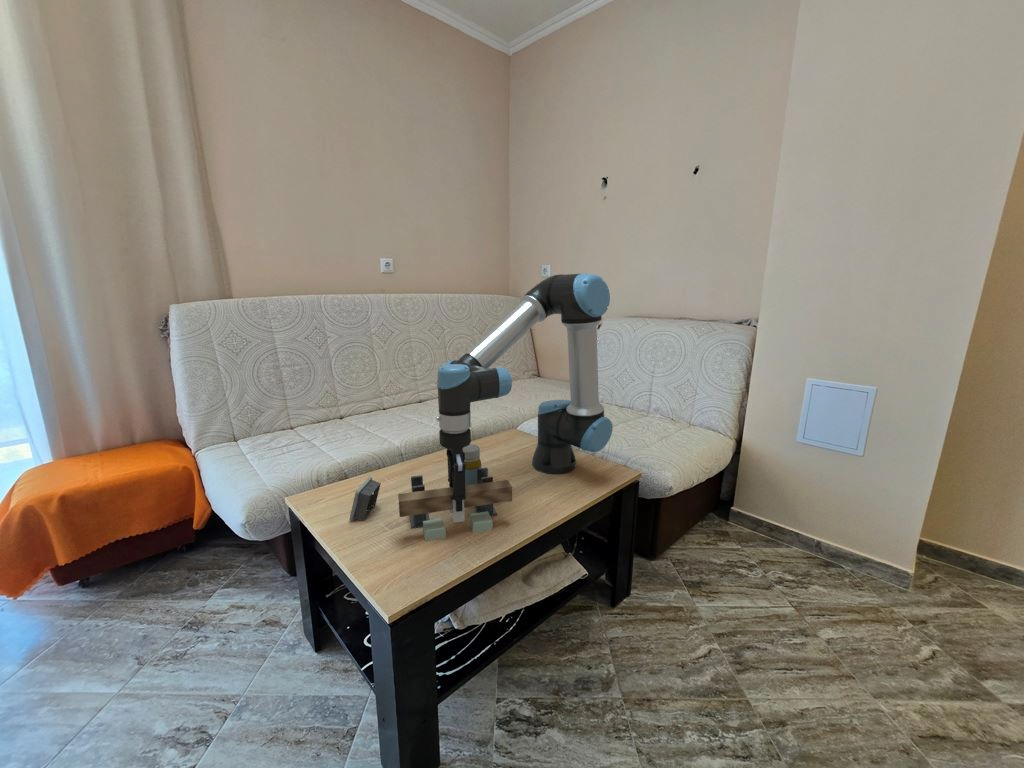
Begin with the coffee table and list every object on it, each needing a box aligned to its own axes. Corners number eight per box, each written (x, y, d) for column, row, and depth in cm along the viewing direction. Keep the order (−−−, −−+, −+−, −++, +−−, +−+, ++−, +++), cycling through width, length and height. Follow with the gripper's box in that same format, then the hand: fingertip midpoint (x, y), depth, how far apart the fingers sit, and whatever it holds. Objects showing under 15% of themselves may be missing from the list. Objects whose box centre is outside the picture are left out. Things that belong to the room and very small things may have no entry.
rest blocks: (488, 519, 111) (487, 511, 111) (492, 529, 107) (492, 521, 106) (423, 529, 107) (422, 521, 106) (425, 541, 102) (424, 531, 101)
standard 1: (427, 510, 116) (425, 473, 114) (430, 525, 109) (428, 486, 106) (409, 513, 115) (406, 476, 112) (410, 528, 107) (408, 489, 105)
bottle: (478, 502, 121) (477, 453, 117) (455, 499, 122) (453, 451, 119) (484, 491, 127) (483, 444, 124) (462, 488, 129) (461, 443, 125)
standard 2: (490, 501, 121) (490, 466, 119) (497, 515, 114) (497, 477, 111) (473, 503, 120) (472, 468, 117) (479, 518, 112) (478, 480, 110)
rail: (507, 493, 111) (507, 479, 110) (512, 500, 107) (512, 486, 106) (399, 508, 103) (398, 494, 102) (399, 517, 99) (398, 501, 98)
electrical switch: (363, 504, 119) (364, 474, 117) (381, 506, 119) (382, 477, 117) (348, 522, 110) (349, 490, 108) (367, 525, 110) (368, 493, 108)
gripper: (435, 419, 108) (438, 502, 113) (444, 442, 92) (447, 537, 97) (463, 417, 110) (465, 498, 115) (477, 439, 94) (478, 532, 99)
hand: (457, 516), depth 106 cm, fingers closed on rail, 4 cm apart
